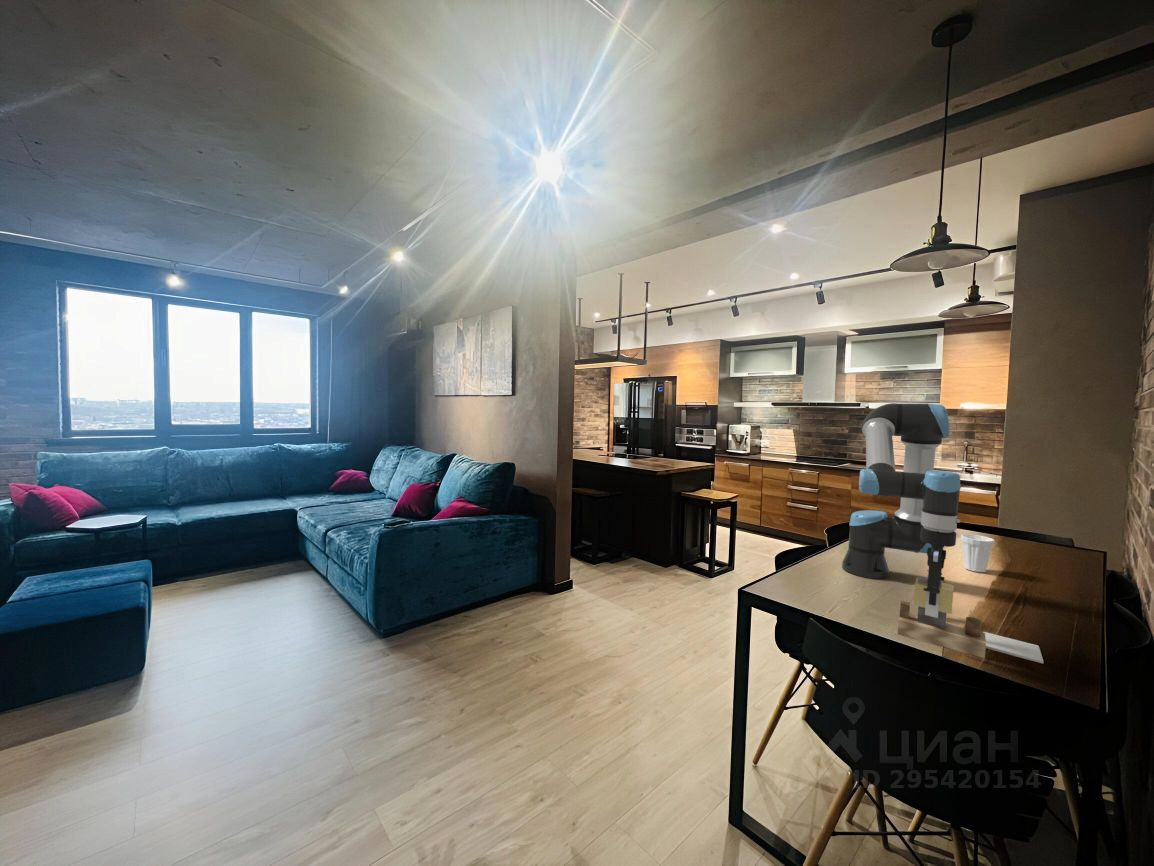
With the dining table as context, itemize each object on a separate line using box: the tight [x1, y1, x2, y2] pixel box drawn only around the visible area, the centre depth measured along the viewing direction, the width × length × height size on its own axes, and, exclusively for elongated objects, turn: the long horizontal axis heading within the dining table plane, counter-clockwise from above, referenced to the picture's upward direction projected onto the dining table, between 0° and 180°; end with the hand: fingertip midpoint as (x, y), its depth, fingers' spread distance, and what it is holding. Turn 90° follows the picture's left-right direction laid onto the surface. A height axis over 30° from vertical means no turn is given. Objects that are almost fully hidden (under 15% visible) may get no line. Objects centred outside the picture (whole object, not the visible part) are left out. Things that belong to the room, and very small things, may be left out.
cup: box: [960, 533, 995, 573], centre depth 178 cm, size 10×10×13 cm
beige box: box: [913, 575, 954, 615], centre depth 123 cm, size 8×6×7 cm
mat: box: [983, 631, 1044, 664], centre depth 120 cm, size 11×10×1 cm
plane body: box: [897, 600, 987, 659], centre depth 123 cm, size 18×7×9 cm, turn 50°
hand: (932, 609), depth 124 cm, fingers open, 10 cm apart
